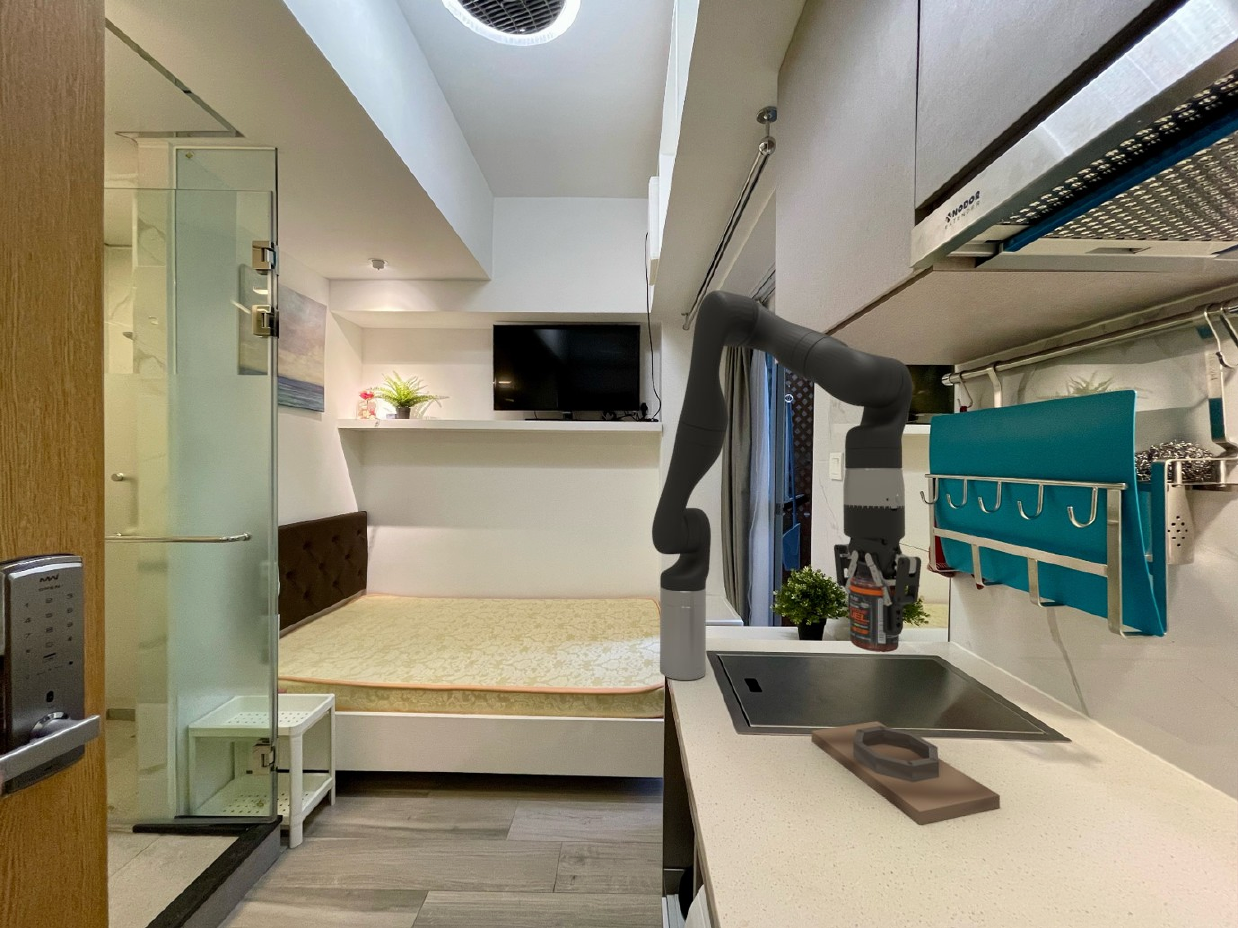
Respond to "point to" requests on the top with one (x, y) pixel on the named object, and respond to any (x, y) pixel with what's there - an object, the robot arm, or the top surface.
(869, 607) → the supplement bottle
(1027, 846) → the top surface
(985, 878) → the top surface
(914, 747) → the socket board
